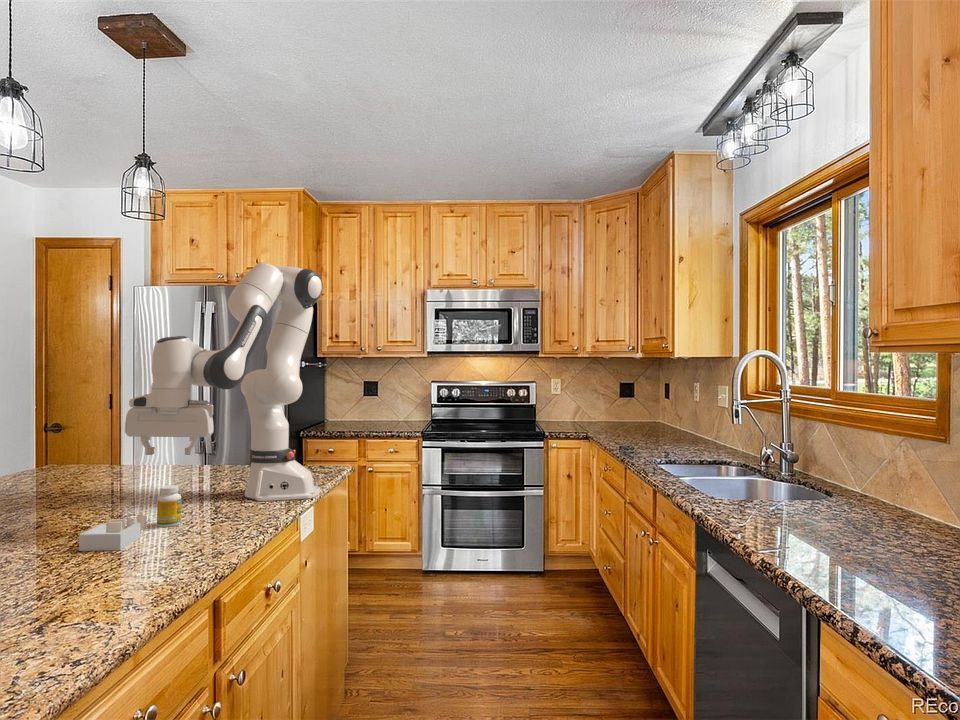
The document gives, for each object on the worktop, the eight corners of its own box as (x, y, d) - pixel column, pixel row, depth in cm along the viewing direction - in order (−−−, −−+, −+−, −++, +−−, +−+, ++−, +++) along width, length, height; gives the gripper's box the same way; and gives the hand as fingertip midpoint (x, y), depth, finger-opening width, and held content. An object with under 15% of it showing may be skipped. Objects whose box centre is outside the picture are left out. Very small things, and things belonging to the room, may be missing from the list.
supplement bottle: (157, 523, 142) (158, 485, 143) (181, 520, 145) (182, 483, 145) (155, 528, 138) (156, 489, 138) (180, 526, 140) (181, 487, 140)
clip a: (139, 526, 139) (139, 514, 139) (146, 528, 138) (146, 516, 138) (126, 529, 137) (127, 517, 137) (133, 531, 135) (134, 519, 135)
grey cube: (111, 532, 134) (111, 519, 134) (125, 531, 135) (125, 518, 135) (106, 535, 132) (106, 523, 132) (120, 534, 132) (121, 522, 132)
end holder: (140, 537, 130) (140, 522, 130) (120, 550, 122) (120, 534, 122) (101, 538, 130) (101, 523, 130) (78, 550, 121) (79, 534, 121)
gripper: (218, 399, 146) (216, 452, 145) (135, 398, 143) (133, 452, 143) (209, 401, 139) (207, 456, 139) (122, 400, 137) (120, 456, 137)
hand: (169, 454), depth 141 cm, fingers open, 8 cm apart
